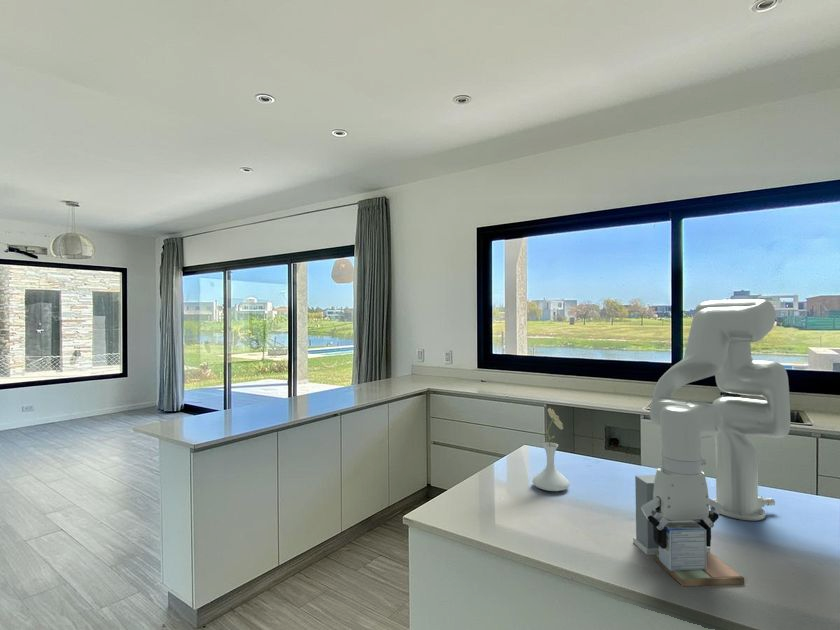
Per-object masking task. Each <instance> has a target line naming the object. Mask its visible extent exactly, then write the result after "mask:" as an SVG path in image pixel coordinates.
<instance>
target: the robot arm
mask: <svg viewBox="0 0 840 630" xmlns="http://www.w3.org/2000/svg"><path fill="white" fill-rule="evenodd" d="M776 315H777V313H776V309H775V306H774V305H773V304H772V303H771V301H769V300H768V299H761V298H758V299H757V298H755V299H752V298H751V299H722V300H721V299H720V300H719V299H718V300H708V301H703V302H700V303H699V304H697V306H696V307H695V310H694V315H693V318H692V320H691V324H690V325H691V326H690V329H689V333H688V338H687V343H686V347H685V350H684V356H683V358H682V359H681V360H680V361H678V362H677V363H675V364H673V365H672V366H671V367H670V368H669V369H668V370H666V372H664V373H663V375H661V377H659V379H658V381H657V382H656V385H655V388H654V391H653V393H652V394H653V395H652V398H651V401H650V402H651V403H650V408H649V417H650V418H649V419H650V421H651V423H652V424H653V426H654V427H656V428H657V429H660V432H659V433H660V435H659V436H660V468H659V467H658V468H657V469H656V472H655V475H656V476H655V481H654V491H653V500H651V501H649V502H647V503H646V504H644V505H642V506H641V510H642V511H643V513H644V515H645V518H646V519H647V520H648V521H649V522H650V523H651V524H652V525H653V537H654V541H655V543H656V544H657V545H659V546H660V547H661V548H662V549H666V531H665V530H664V529H663V528H664V527H665V525H666V524H667V523H668V521H684V520H700V522H698V524H699V525H700V526H702V527H703V528H704V529H705V530H706V546H707V547H710V548H711V543H712V542H711V540H712V528H714V526H715V524H714V523H716V522H717V520H718V519H719V517H720V515H723V516H725V517H728V518H731V519H736V520H741V521H742V520H743V521H751V522H752V521H756V522H757V521H761V520H763V519H765V518H766V511H765V509H764V507H765V506H775V505H776V501H775V499H774V498H773V497H765V498H764V497H763V496H762V495H759V486H758V484H759V481H758V480H759V476H758V475H759V474H758V472H759V471H758V469H759V468H758V467H759V466H758V451H757V448H756V445H755V444H754V442H753V441H752V440H751V438H750V437H749V436H748V435H752V436H753V435H754V436H759V437H767V438H772V439H773V438H774V439H781V438H782V439H783V438H785V437H787V436H788V435H789V434H790V429H791V406H790V405H791V404H790V403H791V402H790V401H791V400H790V385H789V384H790V383H789V376H788V372H787V370H786V368H785V367H784V366H783V364H781V363H780V362H777V361H772V360H771V361H770V360H756V359H753V357H752V347H751V343H756V342H759V341H761V340H763V339H764V338H765V337H766V335H768V334H770V332H771V330H773V328H774V327H775V322H776V317H777V316H776ZM710 377H715V383H716V386H717V388H718V389H719V390H720V391H721V392H725V393H728V394H734V395H736V394H737V395H743V396H744V395H745V396H751V397H752V396H754V397H761V398H764V399H765V400H763V399H755V398H748V397H738V396H736V397H734V396H722V397H718V398H716V399H715V400H714V401H712V403H709V402H704V401H696V400H691V399H690V400H689V399H680V398H674V397H672V396H673V394H674V393H675V392H676V391H677V390H678V389H680V388H681V387H684V386H685V385H688V384H690V383H693V382H697V381H700V380H704V379H707V378H710ZM712 437H714V439H715V442H714V443H715V487H716V489H715V490H716V493H715V494H716V496H715V497H716V498H713V499H711V498H709V497H710V496H709V488H708V484H707V483H708V482H707V478H706V476H705V473H704V472H703V469H702V467H703V466H705V465H707V461H706V458H702V439H705V438H712ZM652 510H654V511H655V512H657V513H656V514H655V515H654V517H653V515H652V513H651V511H652ZM661 518H662V519H661ZM660 519H661V520H660ZM659 520H660V521H659Z"/></svg>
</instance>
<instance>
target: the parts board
mask: <svg viewBox="0 0 840 630" xmlns="http://www.w3.org/2000/svg"><path fill="white" fill-rule="evenodd" d="M653 561H655V562H656V563H657V564H658V565H659V566H660V567H661V568H662V569H663V570H665V572H667V574H668V575H670V576H671V577H672V578H673V577H674V578H675V579H676V580H677V581H678V582H679V583H680V584H681V585H680V584H679V585H680V586H681V587H694V586H695V587H699V586H700V587H701V586H716V585H717V586H718V585H719V586H720V585H723V586H724V585H743V584H745V577H744V576H742V575H741V574H740V573H738V572H737V571H736V570H734V569H733V568H732V567H730V566H729V564H727V563H725V562H724V561H723V560H721V559H720V558H718V557H717V556H715V555H714V554H713V553H712V552H711V551H710V552H706V563H707V569H700V570H678V571H670V570H669V569H668V568H667V567H666V566H665V565H664V564H663V563H662V562H661V561H660V560H659V554H654V555H653ZM674 578H673V579H674ZM675 579H674V580H675ZM676 580H675V581H676ZM677 581H676V582H677ZM678 582H677V583H678Z"/></svg>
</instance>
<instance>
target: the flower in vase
mask: <svg viewBox="0 0 840 630" xmlns="http://www.w3.org/2000/svg"><path fill="white" fill-rule="evenodd" d="M546 412H547V413H548V415H549V417H550V418H551V421H550V423H549V425H548V428H547V429H546V431H545V432H546V435H547V440H548V442H543V443H541V446H543V448H544V450H545V454H546V465H545V468H544V469H542V470H541V471H540V472H539V473H537V474H535V476H533V478H532V484H533V485H534V486H535V487H536V488H539V489H542V491H543V490H544V491H549V492H559V491H565V490H567V489H568V488H569V487H570V481H569V479H568V478H566V476H564V474H562V473H561V472H560V471H559V470H557V469H556V467H555V454H556V451H557V448H558V447H559V444H558V443H555V442H550V441H551V439H554V438H555V437H556V436H555V435H552V436H551V437H550V434H549V432H550V428H551V425H552V423H554V424H555V425H556V427H557V428H558V429H559V430H563V429H564V427H563V426H564V424H563V422H562V421H561V420H560V416H559V415H556V414H557V413H555V410H554V409H551V407H549V408H548V409H547V411H546Z"/></svg>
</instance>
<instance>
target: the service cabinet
mask: <svg viewBox="0 0 840 630" xmlns="http://www.w3.org/2000/svg"><path fill="white" fill-rule="evenodd" d="M655 476H656V474H647V475H646V474H645V475H644V474H642V475H635V477H634V478H635V485H634V486H635V487H634V488H635V536H633V538H632V542H633V543H634V545H636V546H637V548H639V550H641V551H642V552H643V553H644V554H645V555H646V556H654V554H659V545H657V544H656V543H655V541H654V537H653V525H652V524H651V523H650V522H649V521H648V520H647V519H646V518H645V515H644V513H643V511H642V510H641V506H642V505H644V504H646V503H647V502H649V501H651V500H653V491H654V481H655ZM651 513H652V515H653V517H654V515H655V514H656V513H657V512H655V511H654V510H652V511H651ZM661 519H662V518H661ZM661 519H660V520H661ZM660 520H659V521H660ZM684 521H689V520H684ZM693 521H694V522H696V523H697V524H698V522H700V520H693ZM706 552H710V553H711V546H710V547H707V546H706Z"/></svg>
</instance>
